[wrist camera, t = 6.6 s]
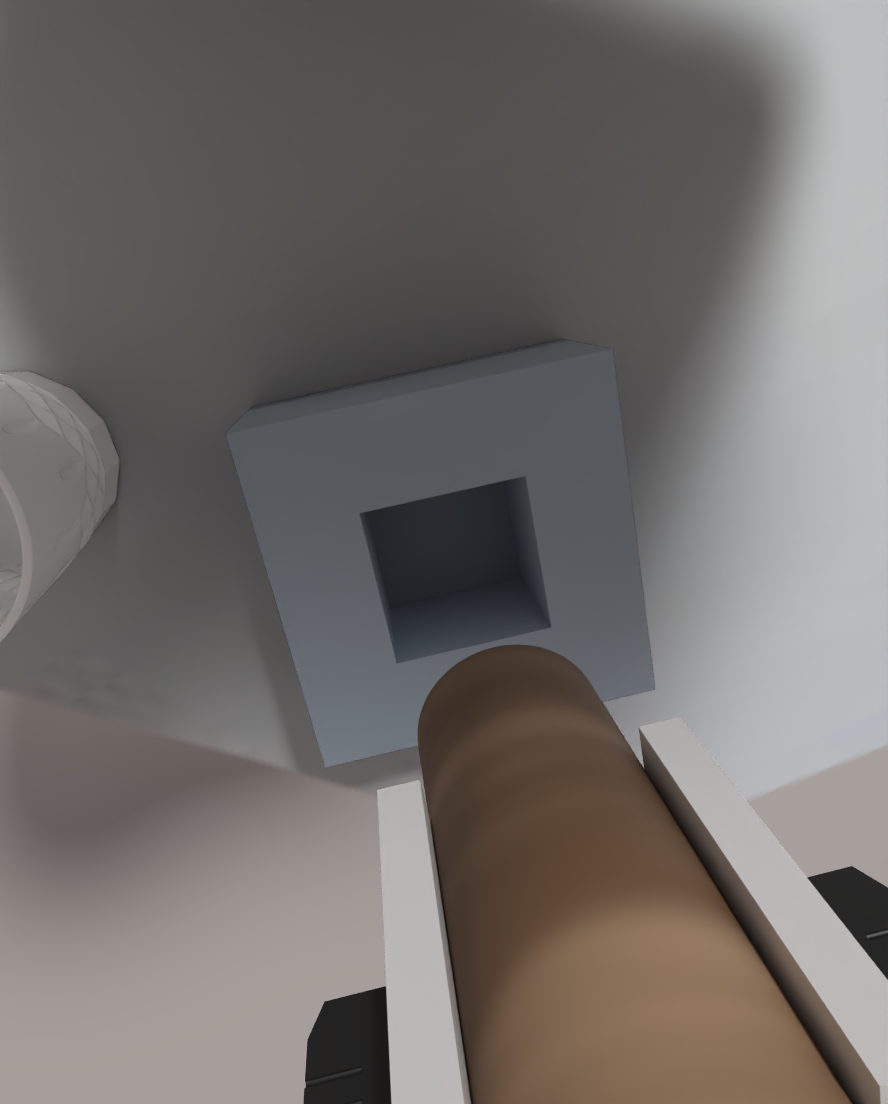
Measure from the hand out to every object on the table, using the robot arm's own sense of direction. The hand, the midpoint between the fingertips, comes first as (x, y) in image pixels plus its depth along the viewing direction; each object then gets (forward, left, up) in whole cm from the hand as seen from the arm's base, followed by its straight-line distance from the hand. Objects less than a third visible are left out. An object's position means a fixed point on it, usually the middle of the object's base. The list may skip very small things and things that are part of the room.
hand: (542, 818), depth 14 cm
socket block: (0, 0, -18) cm, 18 cm away
